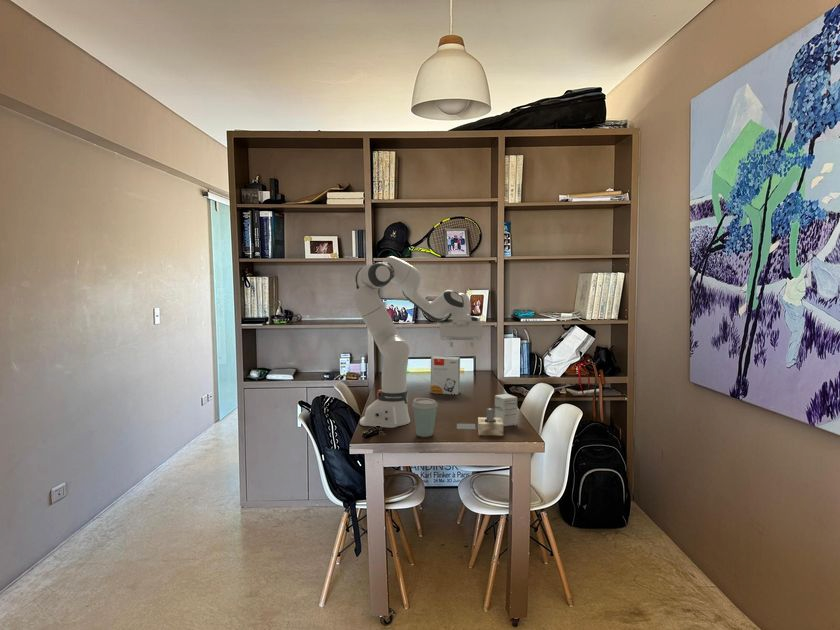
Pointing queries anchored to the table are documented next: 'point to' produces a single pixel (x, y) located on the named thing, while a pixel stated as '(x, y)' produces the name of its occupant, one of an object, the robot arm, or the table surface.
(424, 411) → the disposable coffee cup
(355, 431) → the table surface
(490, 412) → the steel pin
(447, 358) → the hard drive box
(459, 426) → the rubber mat
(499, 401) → the supplement box
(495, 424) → the birch block
